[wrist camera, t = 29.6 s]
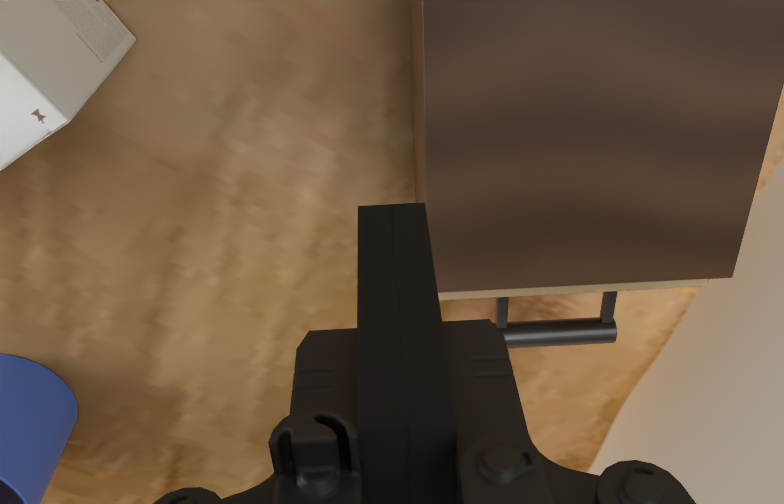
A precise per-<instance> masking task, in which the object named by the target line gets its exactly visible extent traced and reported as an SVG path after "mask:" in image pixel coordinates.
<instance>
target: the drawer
mask: <svg viewBox="0 0 784 504" xmlns="http://www.w3.org/2000/svg"><path fill="white" fill-rule="evenodd" d="M708 280H709V279H696V280H676V281H657V282H638V283H618V284H599V285H580V286H560V287H541V288H522V289H502V290H483V291H464V292H444V293H438V297H439V300H455V299H474V298H493V297H496V313H495V323H493V324H494V325H495V326H496V327H497V328H498V330H499V331H500V332H501V333H502V334H503V335H504V337H505V341H506V345H507V348H524V347H543V346H562V345H582V344H601V343H614V342H615V341H616V337H617V328H616V323H615V320H614V318H613V315H614V309H615V303H616V297H617V291H629V290H648V289H667V288H686V287H705V286H707V284H708ZM590 292H603V299H602V306H601V312H600V317H596V318H576V319H557V320H538V321H519V322H507V316H508V299H509V297H513V296H532V295H551V294H571V293H590Z"/></svg>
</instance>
